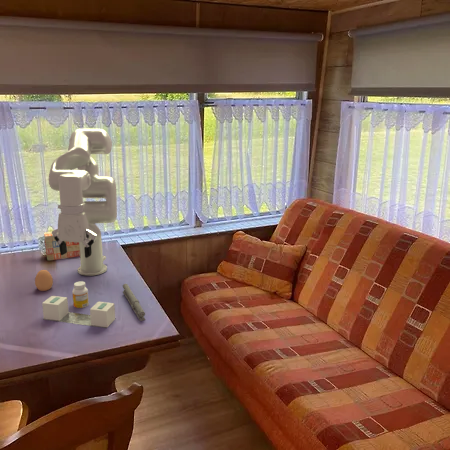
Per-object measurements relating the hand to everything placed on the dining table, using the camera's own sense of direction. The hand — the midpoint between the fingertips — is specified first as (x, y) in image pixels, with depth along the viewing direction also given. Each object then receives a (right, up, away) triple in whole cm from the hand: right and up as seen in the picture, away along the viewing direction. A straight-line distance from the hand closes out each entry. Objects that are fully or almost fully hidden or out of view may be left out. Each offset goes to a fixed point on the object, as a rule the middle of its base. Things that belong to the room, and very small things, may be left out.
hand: (75, 255), depth 166 cm
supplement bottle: (0, -20, +6) cm, 21 cm away
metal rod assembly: (+20, -20, +7) cm, 29 cm away
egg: (-18, -16, +19) cm, 31 cm away
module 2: (+12, -23, -6) cm, 26 cm away
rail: (+3, -23, -4) cm, 24 cm away
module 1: (-6, -21, -3) cm, 22 cm away
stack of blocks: (-21, -4, +57) cm, 61 cm away
